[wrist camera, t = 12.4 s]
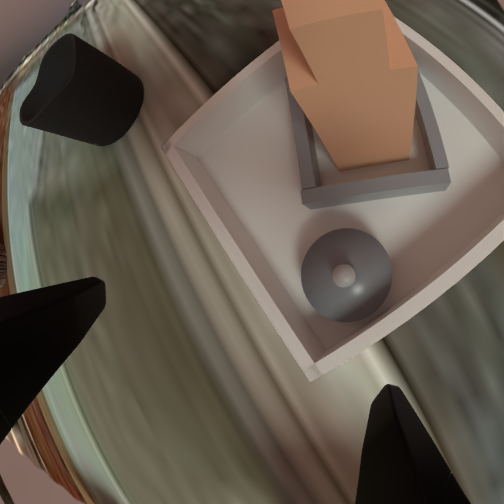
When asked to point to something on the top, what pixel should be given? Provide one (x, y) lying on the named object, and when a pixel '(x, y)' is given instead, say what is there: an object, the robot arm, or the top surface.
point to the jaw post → (351, 77)
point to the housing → (345, 204)
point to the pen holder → (82, 94)
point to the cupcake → (2, 265)
